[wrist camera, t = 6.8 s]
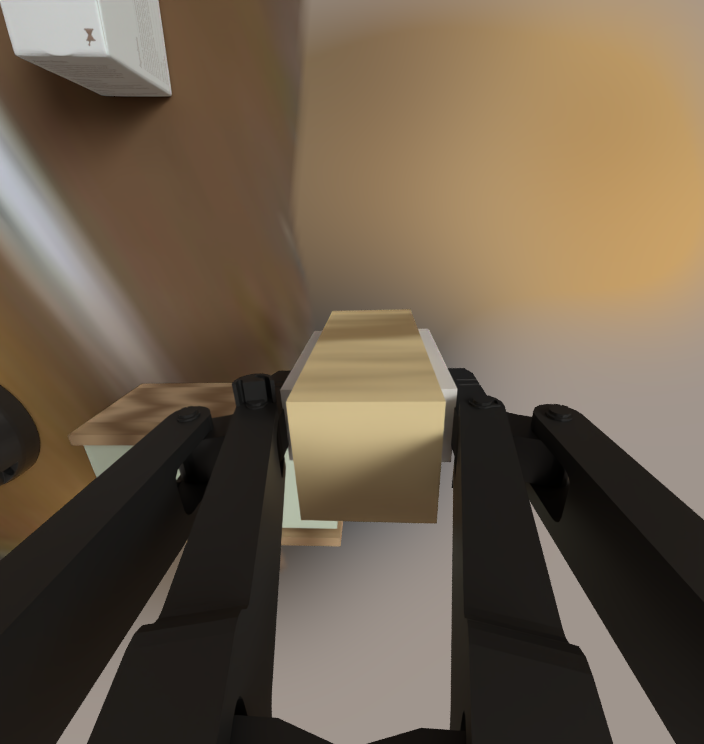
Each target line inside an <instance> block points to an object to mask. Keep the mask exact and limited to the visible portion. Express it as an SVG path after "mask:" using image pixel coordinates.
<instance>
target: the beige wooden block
mask: <svg viewBox="0 0 704 744" xmlns="http://www.w3.org/2000/svg"><path fill="white" fill-rule="evenodd" d="M445 406H446V401H445V398H444V396H443V393H442V390H441V388H440V385H439V383H438V380H437V377H436V375H435V372H434V370H433V367H432V364H431V362H430V359H429V357H428V354H427V351H426V349H425V346H424V344H423V341H422V338H421V336H420V333H419V331H418V328H417V325H416V323H415V321H414V318H413V315H412V312H411V310H410V309H407V310H406V309H402V310H358V311H333V312H332V313H331V315H330V317H329V319H328V321H327V323H326V325H325V327H324V329H323V331H322V333H321V335H320V337H319V339H318V340H317V342H316V344H315V346H314V348H313V350H312V352H311V354H310V356H309V358H308V360H307V362H306V364H305V366H304V368H303V370H302V372H301V374H300V375H299V377H298V379H297V381H296V383H295V385H294V387H293V389H292V391H291V393H290V395H289V397H288V399H287V401H286V407H287V415H288V423H289V431H290V438H291V446H292V454H293V462H294V469H295V477H296V485H297V493H298V501H299V508H300V516H301V520H315V521H357V522H397V523H398V522H399V523H437V511H438V497H439V485H440V472H441V459H442V446H443V432H444V419H445Z"/></svg>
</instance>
